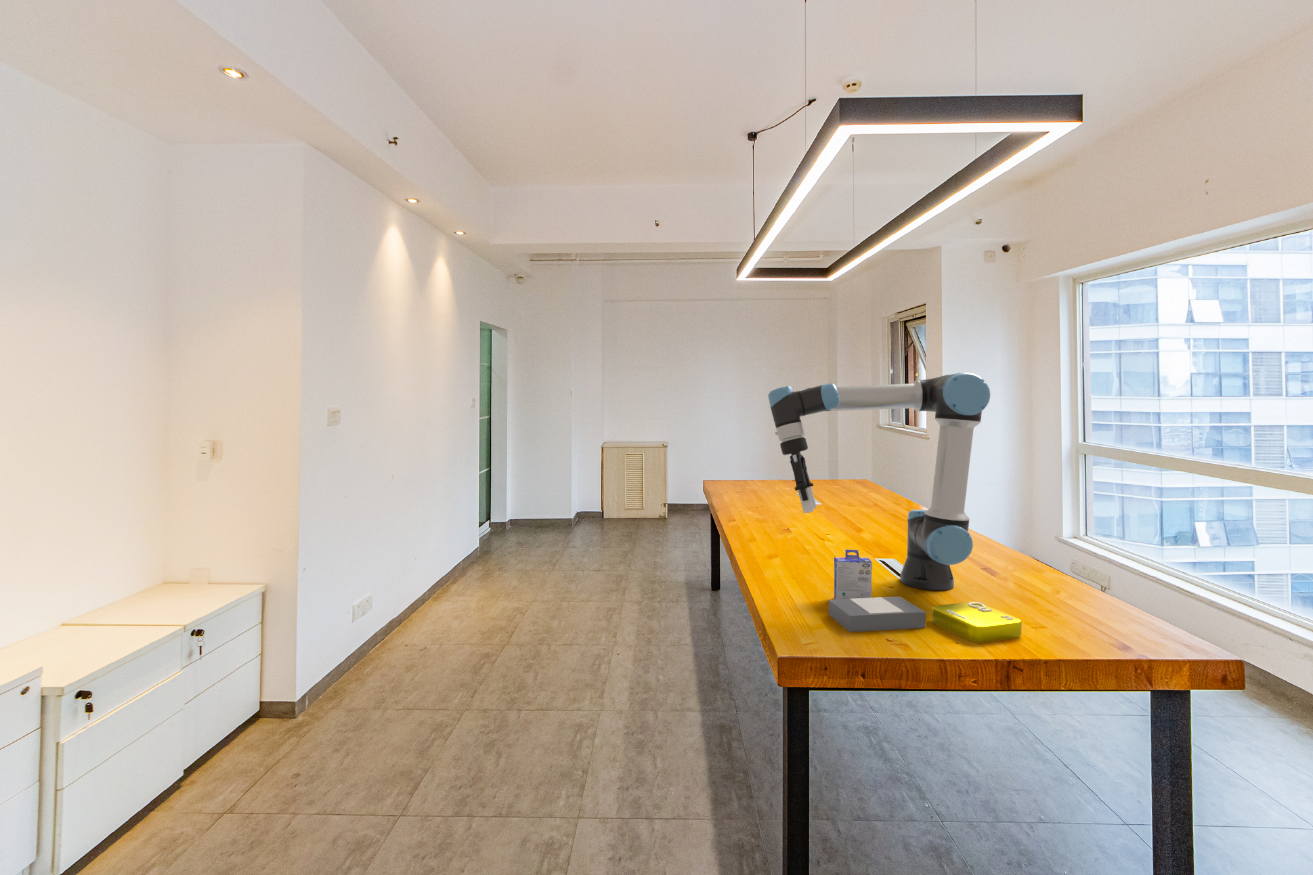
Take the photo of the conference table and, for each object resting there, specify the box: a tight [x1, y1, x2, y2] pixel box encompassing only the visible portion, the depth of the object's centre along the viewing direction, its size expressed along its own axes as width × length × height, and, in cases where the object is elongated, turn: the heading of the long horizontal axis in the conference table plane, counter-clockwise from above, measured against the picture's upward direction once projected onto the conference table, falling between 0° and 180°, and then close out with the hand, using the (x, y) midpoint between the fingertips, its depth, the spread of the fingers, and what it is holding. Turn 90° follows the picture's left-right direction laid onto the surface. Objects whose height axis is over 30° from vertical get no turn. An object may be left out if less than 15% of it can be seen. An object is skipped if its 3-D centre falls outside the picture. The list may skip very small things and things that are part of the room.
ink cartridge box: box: [833, 549, 873, 600], centre depth 165 cm, size 10×6×14 cm, turn 82°
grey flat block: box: [828, 596, 927, 633], centre depth 150 cm, size 20×12×4 cm, turn 98°
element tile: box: [931, 601, 1022, 644], centre depth 145 cm, size 15×15×5 cm
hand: (810, 510), depth 168 cm, fingers open, 13 cm apart
